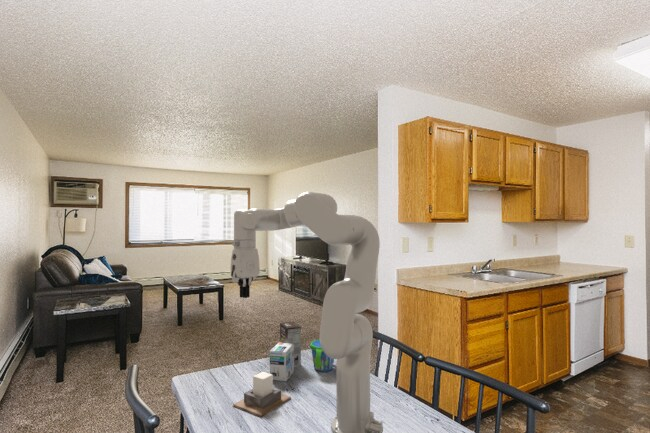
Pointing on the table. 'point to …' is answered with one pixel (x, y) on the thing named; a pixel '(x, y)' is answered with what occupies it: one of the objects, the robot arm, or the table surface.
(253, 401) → the socket
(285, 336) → the coffee box
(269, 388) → the off-white rectangular box
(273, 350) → the light bulb box
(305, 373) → the table surface
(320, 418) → the table surface
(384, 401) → the table surface
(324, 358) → the snack cup
